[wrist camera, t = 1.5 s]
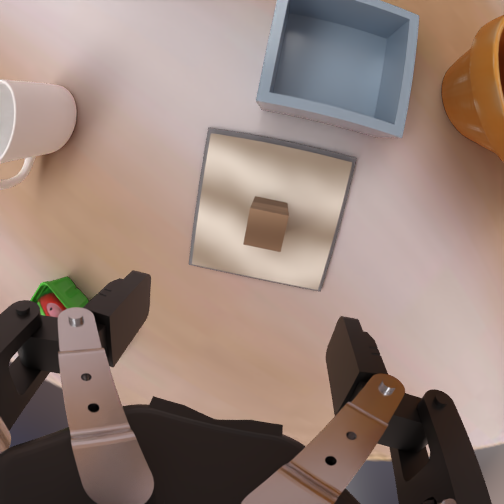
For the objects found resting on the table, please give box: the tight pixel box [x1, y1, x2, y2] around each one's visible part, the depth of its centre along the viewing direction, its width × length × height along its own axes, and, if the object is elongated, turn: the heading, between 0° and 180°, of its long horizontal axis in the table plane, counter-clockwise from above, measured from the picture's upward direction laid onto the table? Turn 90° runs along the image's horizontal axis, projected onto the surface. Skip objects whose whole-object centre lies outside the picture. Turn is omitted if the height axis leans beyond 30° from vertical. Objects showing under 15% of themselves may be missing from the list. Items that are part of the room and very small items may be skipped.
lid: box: [192, 133, 352, 290], centre depth 27 cm, size 13×13×6 cm
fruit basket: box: [30, 277, 89, 317], centre depth 32 cm, size 11×9×11 cm
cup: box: [0, 80, 77, 190], centre depth 24 cm, size 8×12×10 cm
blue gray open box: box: [256, 0, 419, 138], centre depth 21 cm, size 11×11×7 cm
